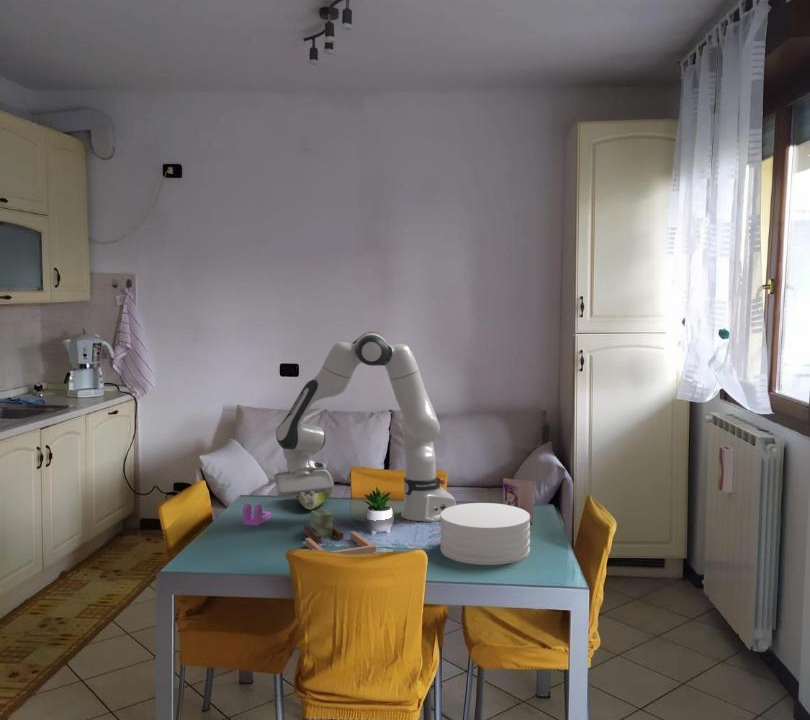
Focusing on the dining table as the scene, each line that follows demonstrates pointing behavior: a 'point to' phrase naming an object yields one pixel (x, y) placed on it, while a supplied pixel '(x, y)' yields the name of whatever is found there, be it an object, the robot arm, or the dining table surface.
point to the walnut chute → (317, 537)
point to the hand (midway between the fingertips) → (309, 503)
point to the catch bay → (365, 548)
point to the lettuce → (316, 498)
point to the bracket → (257, 517)
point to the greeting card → (519, 495)
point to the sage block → (322, 522)
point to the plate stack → (485, 533)
